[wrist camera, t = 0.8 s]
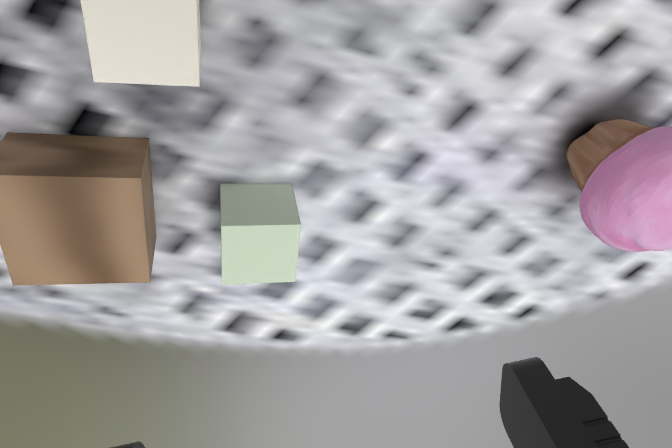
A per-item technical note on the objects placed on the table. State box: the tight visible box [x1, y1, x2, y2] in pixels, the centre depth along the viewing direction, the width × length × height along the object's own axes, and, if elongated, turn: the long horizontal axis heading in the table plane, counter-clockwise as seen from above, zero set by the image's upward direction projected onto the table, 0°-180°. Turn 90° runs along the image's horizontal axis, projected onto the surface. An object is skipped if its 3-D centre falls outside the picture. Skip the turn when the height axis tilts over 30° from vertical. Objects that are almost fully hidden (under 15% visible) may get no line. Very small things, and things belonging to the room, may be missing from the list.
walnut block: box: [0, 133, 156, 285], centre depth 32 cm, size 8×8×5 cm
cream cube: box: [81, 0, 201, 87], centre depth 26 cm, size 5×5×5 cm
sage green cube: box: [220, 183, 301, 285], centre depth 36 cm, size 5×5×5 cm
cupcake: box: [566, 119, 672, 252], centre depth 36 cm, size 9×9×10 cm
